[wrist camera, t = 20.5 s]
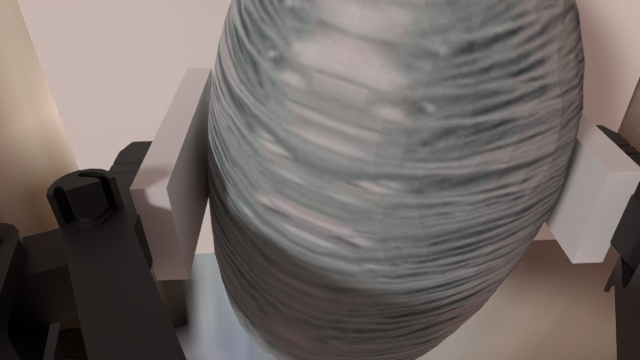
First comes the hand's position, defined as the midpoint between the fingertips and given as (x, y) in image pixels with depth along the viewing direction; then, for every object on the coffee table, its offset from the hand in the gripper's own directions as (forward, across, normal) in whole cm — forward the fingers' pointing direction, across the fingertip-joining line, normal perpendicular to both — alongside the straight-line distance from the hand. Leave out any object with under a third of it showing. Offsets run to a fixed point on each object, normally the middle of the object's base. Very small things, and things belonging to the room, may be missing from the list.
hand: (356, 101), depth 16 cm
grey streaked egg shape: (+1, 0, 0) cm, 1 cm away
